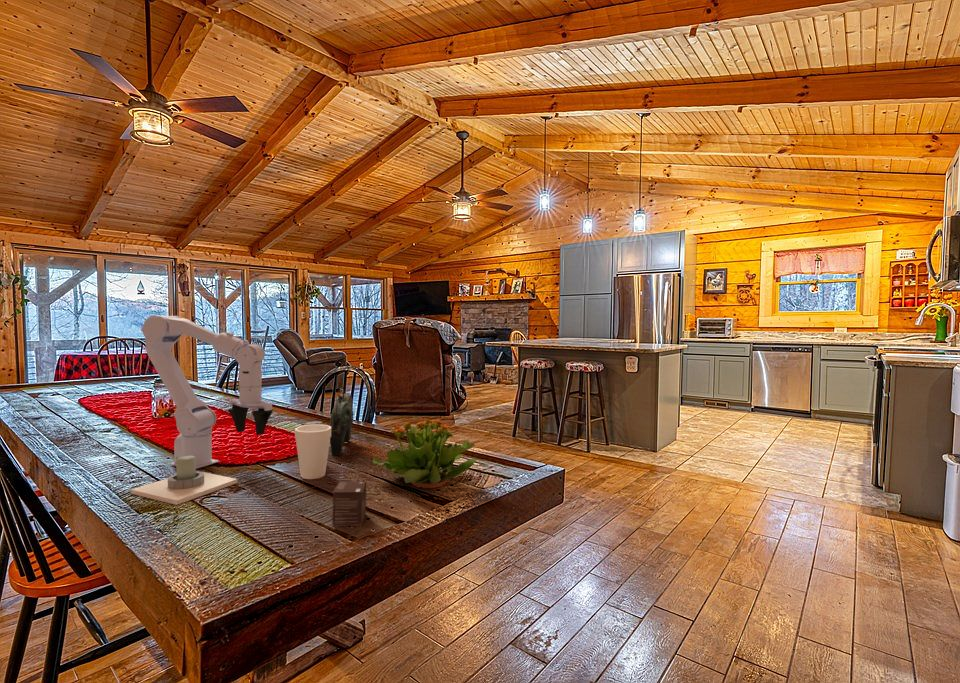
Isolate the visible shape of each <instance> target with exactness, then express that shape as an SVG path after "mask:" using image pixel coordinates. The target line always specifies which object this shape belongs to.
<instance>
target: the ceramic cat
mask: <svg viewBox="0 0 960 683" xmlns="http://www.w3.org/2000/svg"><path fill="white" fill-rule="evenodd" d="M339 390H340V392H341V394H337V395H336V400H335V404H334V406H333V408H332V411H331V415H330V422H329V426H331V437H330V444H329V445H330V453H331V456H340V455H342V454H343V447H344V444H345V443H344V442H349V443H350V441H351V434H352V433H351V432H352V431H351V430H352V426H353V423H354V409H353V407H354V406H353V405H354V404H353V403H354V402H353V396H352V394H350V393H345V388H344V387H340V388H339ZM349 440H350V441H349Z"/></svg>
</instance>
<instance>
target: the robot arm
mask: <svg viewBox="0 0 960 683" xmlns="http://www.w3.org/2000/svg"><path fill="white" fill-rule="evenodd" d="M140 330H141V333H142V335H143V336H144V339H145V340H144V341H145V352H146V354H147V356H148V358H149V360H150V361H151V363H152V365H153V367H154V369H155V370H156V373H157V374H158V376H159V377H160V379H161V382H162V383H163V385H164V387H165V388H166V390H167V392H168V394H169V395H170V397H171V399H172V401H173V403H174V405H175V406H176V408H175V411H174V413H173V417H174V418H175V422H176V428H177V431H178V432H179V433H180V434H178V435H177V436H176V437H175V439H174V444H173V445H174V446H173V448H174V452H173V457H174V459H173V460H174V462H172V463H171V466H174V467H176V459H177V458H179V457H183V456H195V465H196V469H200V468H204V467H206V466H209V465H214V464H216V463H219V461H220V460H218V459H214V458H212V453H213V452H212V448H213V447H212V431H213V430H212V428H213V427H214V426H215V424H216V422H217V415H216V413H215V411H214V410H213V409H211V408H209V407H208V405H207V403H206V402H205V401H203V400H201V399H199V398H198V397H197V395H196V394H195V393H196V392H195V391H194V389H193V387H192V386H191V384H190V382H189V380H188V379H187V377H186V376H185V373H184V371H183V370H182V368H181V366H180V365H179V363H178V361H177V358H176V357H175V355H174V354H173V352H172V349H173V347H174V345H175V344H176V343H177V342H178V340H180V338H181V337H182V336H183V335H186V336H189V337H192V338H194V339H197V340H199V341H202V342H204V343H207V344H210V345H212V348H213V350H214V351H216V352H218V353H220V354H222V355H225V356H227V357H229V358H231V359H234V360H236V362H237V363H238V366H239V367H238V368H239V371H238V373H239V378H238V379H239V382H238V383H239V385H238V386H239V387H238V391H239V394H238V395H239V396H238V397H239V398H233V399H229V401H228V402H229V407H231V408H228V409H227V411H228V413H229V415H230V416H231V418H232V420H233V423H234V426H235V430H236V433H242V432H245V430H246V420H247V415H248V411H249V409H253V410H252V411H251V414H252V416H253V419H254V423H255V434H256V436H261V435H264V434H265V431H266V429H267V428H266V427H267V424H268V422H269V419H270V417H271V415H272V414H273V413H274V410H273V403H272V402H268V401H265V400H262V384H263V383H262V377H263V376H262V375H263V374H262V361H263V360H264V359H265V357H266V352H265V349H264V348H263V347H262V346H261V345H260V344H258V343H251V344H250V341H249V340H247V339H241V338H239V337H236V336H234V335H235V334H234V333H232V332H229V331H228V332H221V333H219V334H218V333H216V332H214V331H212V330H210V329H208V328H206V327H203V326H202V325H200V324H198V323H197V322H196V323H195V322H194V321H191V320H190V319H188V318H182V317H181V316H179V315H158V314H155V315H150V316H149V317H147V318H146V319H145V321H144V322H143V325H142V327H141V329H140Z"/></svg>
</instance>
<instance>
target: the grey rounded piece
mask: <svg viewBox="0 0 960 683" xmlns="http://www.w3.org/2000/svg"><path fill="white" fill-rule="evenodd" d="M175 467H176V469H175V472H176V474H177V480H186V479H192V478H195V477H196V471H197V470H196V465H195V456H183V457H179V458H177V459H176V466H175Z"/></svg>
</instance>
